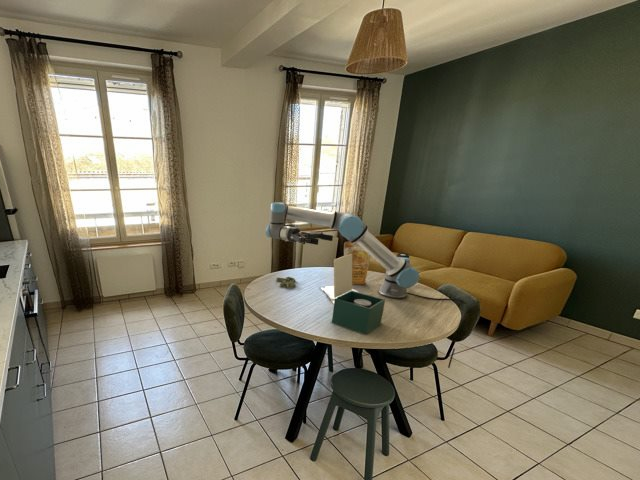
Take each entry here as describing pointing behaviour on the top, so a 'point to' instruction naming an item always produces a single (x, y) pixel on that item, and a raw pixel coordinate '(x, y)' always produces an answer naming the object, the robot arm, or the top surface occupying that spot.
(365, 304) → the canned food
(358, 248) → the pancake mix bag
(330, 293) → the tray
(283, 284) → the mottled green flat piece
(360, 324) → the tote
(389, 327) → the top surface
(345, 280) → the lid
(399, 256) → the travel mug
